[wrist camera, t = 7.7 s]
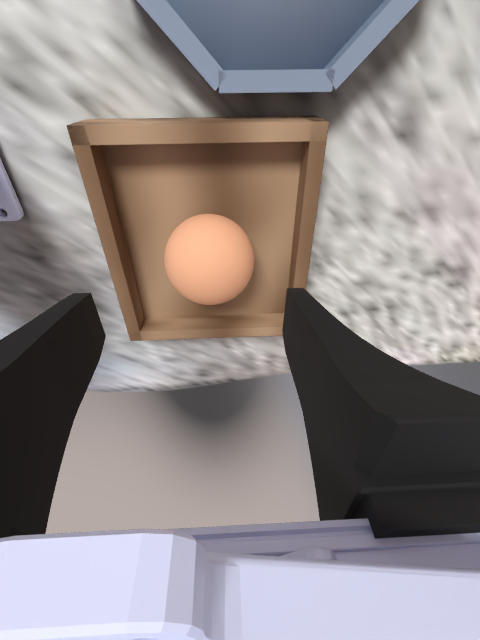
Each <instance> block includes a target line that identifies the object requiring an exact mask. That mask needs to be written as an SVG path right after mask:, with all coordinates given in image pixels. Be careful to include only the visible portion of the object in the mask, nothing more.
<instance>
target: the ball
mask: <svg viewBox="0 0 480 640" xmlns="http://www.w3.org/2000/svg"><path fill="white" fill-rule="evenodd" d="M164 264H165V269H166V273H167V276H168V278H169V280H170V282H171V284H172V285H173V286H174V288H175V289H176V290H177V291H178V292H179V293H180V294H181V295H182V296H184V297H185V298H187V299H189V300H191V301H193V302H196V303H199V304H204V305H216V304H221V303H225V302H227V301H230V300H231V299H233V298H235V297H236V296H237V295H239V294H240V293H241V292H242V291H243V290H244V288H245V287H246V286H247V284H248V282H249V281H250V278H251V276H252V273H253V269H254V252H253V247H252V244H251V242H250V240H249V238H248V236H247V234H246V233H245V232H244V230H243V229H242V228H241V227H240V226H239V225H238V224H237V223H235V222H234V221H232V220H231V219H229V218H226V217H224V216H221V215H216V214H200V215H196V216H193V217H190V218H188V219H186V220H185V221H183V222H182V223H181V224H180V225H179V226H178V227H176V228H175V230H174V231H173V232H172V234H171V235H170V237H169V239H168V242H167V244H166V248H165V254H164Z"/></svg>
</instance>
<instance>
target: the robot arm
mask: <svg viewBox="0 0 480 640" xmlns="http://www.w3.org/2000/svg"><path fill="white" fill-rule="evenodd" d="M1 209H4V210H5V211H6V212H7V214H8V215H5V214H4V213H3V212H2V210H1ZM23 215H24V213H23V209H22V207H21V205H20V202H19V200H18V198H17V195H16V193H15V191H14V189H13V186H12V184H11V182H10V179H9V177H8V175H7V172H6V170H5V168H4V165H3V163H2V161H1V158H0V221H18V220H20V219H21V218H22V217H23ZM282 332H283V339H284V345H285V351H286V355H287V359H288V362H289V366H290V369H291V373H292V376H293V379H294V382H295V386H296V389H297V392H298V396H299V399H300V403H301V407H302V411H303V416H304V421H305V427H306V432H307V438H308V444H309V449H310V455H311V461H312V467H313V474H314V481H315V488H316V494H317V502H318V508H319V517H320V521H309V522H291V523H274V524H254V525H235V526H218V527H199V528H180V529H132V530H113V531H94V532H77V533H76V532H75V533H57V534H45V532H46V527H47V522H48V517H49V512H50V507H51V503H52V499H53V494H54V490H55V486H56V482H57V477H58V473H59V470H60V466H61V462H62V458H63V454H64V451H65V447H66V444H67V441H68V437H69V434H70V431H71V428H72V424H73V421H74V418H75V416H76V413H77V411H78V408H79V406H80V404H81V401H82V399H83V397H84V394H85V392H86V390H87V388H88V385H89V383H90V381H91V378H92V376H93V374H94V371H95V369H96V367H97V364H98V362H99V359H100V356H101V353H102V349H103V345H104V341H105V336H106V335H105V332H104V330H103V327H102V324H101V321H100V318H99V315H98V312H97V309H96V306H95V303H94V301H93V298H92V295H91V293H74V294H72V295H70V296H68V297H67V298H65V299H63V300H62V301H60V302H59V303H57V304H56V305H54V306H53V307H51V308H50V309H48V310H47V311H45V312H44V313H42V314H41V315H39V316H38V317H36V318H35V319H33V320H32V321H30V322H29V323H27V324H26V325H24V326H22V327H21V328H19V329H17V330H16V331H14V332H13V333H11V334H9V335H8V336H6V337H4V338H3V339H1V340H0V640H480V395H477V394H474V393H472V392H469V391H467V390H464V389H461V388H459V387H456V386H454V385H451V384H448V383H446V382H443V381H441V380H438V379H436V378H434V377H431V376H429V375H427V374H425V373H423V372H420V371H418V370H416V369H414V368H412V367H410V366H408V365H406V364H404V363H402V362H400V361H399V360H397V359H395V358H393V357H391V356H389V355H388V354H386V353H384V352H382V351H381V350H379V349H377V348H376V347H374V346H373V345H371V344H370V343H368V342H367V341H365V340H364V339H362V338H361V337H359V336H358V335H357V334H355V333H354V332H353V331H351V330H350V329H349V328H347V327H346V326H345V325H344V324H342V323H341V322H340V321H339V320H337V319H336V318H335V317H334V316H333V315H332V314H331V313H329V312H328V311H327V310H326V309H325V308H324V307H323V306H322V305H321V304H320V303H319V302H318V301H317V300H315V299H314V298H313V297H312V296H311V295H310V294H309V293H308V292H307V291H306V290H305V289H304V288H287V292H286V301H285V310H284V319H283V328H282Z"/></svg>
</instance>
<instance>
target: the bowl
mask: <svg viewBox="0 0 480 640" xmlns="http://www.w3.org/2000/svg"><path fill="white" fill-rule="evenodd" d="M137 1H138V3H139V4H140V5H141V6H142V7H143V8H144V10H145V11H146V12H147V13H148V14H149V15H150V17H151V18H152V19H153V20H154V21H155V22H156V23H157V25H158V26H159V27H160V28H161V29H162V30H163V32H164V33H165V34H166V35H167V36H168V37H169V38H170V40H171V41H172V42H173V43H174V44H175V45H176V47H177V48H178V49H179V50H180V51H181V52H182V54H183V55H184V56H185V57H186V58H187V59H188V60H189V62H190V63H191V64H192V65H193V66H194V67H195V69H196V70H197V71H198V72H199V73H200V74H201V75H202V77H203V78H204V79H205V80H206V81H207V82H208V84H209V85H210V86H211V87H212V88H213V89H214V91H216V90H217V88H218V87H219V93H273V92H332V89H334V90H336V89H337V88H338V87H339V86H340V85H341V84H342V83H343V82H344V81H345V79H346V78H347V77H348V76H349V75H350V74H351V73H352V72H353V71H354V70H355V69H356V68H357V67H358V66H359V64H360V63H361V62H362V61H363V60H364V59H365V58H366V57H367V56H368V55H369V54H370V53H371V52H372V51H373V49H374V48H375V47H376V46H377V45H378V44H379V43H380V42H381V41H382V40H383V39H384V38H385V37H386V35H387V34H388V33H389V32H390V31H391V30H392V29H393V28H394V27H395V26H396V25H397V24H398V23H399V22H400V20H401V19H402V18H403V17H404V16H405V15H406V14H407V13H408V12H409V11H410V10H411V9H412V8H413V7H414V5H415V4H416V3H417V2H418V1H419V0H137Z"/></svg>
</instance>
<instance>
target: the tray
mask: <svg viewBox="0 0 480 640" xmlns="http://www.w3.org/2000/svg"><path fill="white" fill-rule="evenodd" d="M328 126H329V121H327V120H325V119H322V118H320V117H317V116H279V117H214V118H149V119H86V120H83V121H80V122H76V123H73V124H70V125H67V129H68V132H69V135H70V139H71V142H72V146H73V149H74V152H75V156H76V159H77V162H78V166H79V169H80V172H81V176H82V179H83V183H84V186H85V189H86V193H87V196H88V199H89V203H90V206H91V209H92V213H93V216H94V219H95V223H96V226H97V230H98V233H99V236H100V240H101V243H102V246H103V250H104V253H105V256H106V260H107V263H108V267H109V270H110V273H111V277H112V280H113V283H114V287H115V290H116V293H117V297H118V300H119V304H120V307H121V310H122V314H123V317H124V320H125V324H126V327H127V330H128V334H129V337H130V340H131V341H141V340H168V339H196V338H223V337H251V336H278V335H283V332H282V328H283V319H284V310H285V301H286V292H287V288H304V289H305V290H306V283H307V276H308V269H309V262H310V255H311V247H312V240H313V233H314V226H315V219H316V212H317V205H318V198H319V190H320V183H321V176H322V169H323V162H324V155H325V148H326V140H327V133H328ZM200 214H216V215H221V216H224V217H226V218H229V219H231V220H232V221H234V222H235V223H237V224H238V225H239V226H240V227H241V228H242V229H243V230H244V232H245V233H246V234H247V236H248V238H249V240H250V242H251V244H252V247H253V252H254V269H253V273H252V276H251V278H250V281H249V282H248V284H247V286H246V287H245V288H244V290H243V291H242V292H241V293H240V294H239V295H237V296H236V297H235V298H233V299H231V300H230V301H227V302H225V303H221V304H216V305H204V304H199V303H196V302H193V301H191V300H189V299H187V298H185V297H184V296H182V295H181V294H180V293H179V292H178V291H177V290H176V289H175V288H174V286H173V285H172V284H171V282H170V280H169V278H168V276H167V273H166V269H165V264H164V254H165V248H166V244H167V242H168V239H169V237H170V235H171V234H172V232H173V231H174V230H175V228H176V227H178V226H179V225H180V224H181V223H182V222H183V221H185V220H186V219H188V218H190V217H193V216H196V215H200Z"/></svg>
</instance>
